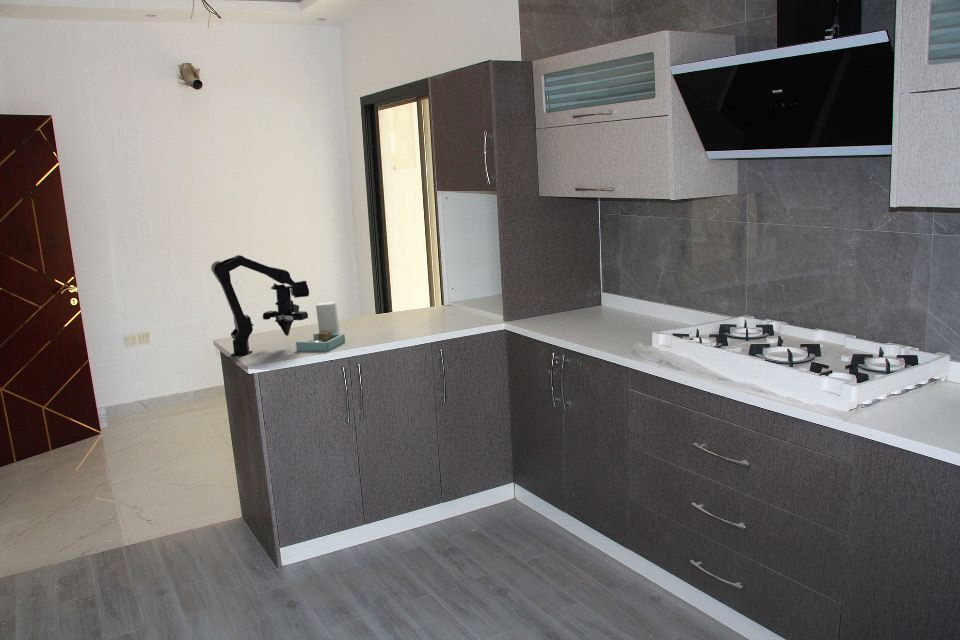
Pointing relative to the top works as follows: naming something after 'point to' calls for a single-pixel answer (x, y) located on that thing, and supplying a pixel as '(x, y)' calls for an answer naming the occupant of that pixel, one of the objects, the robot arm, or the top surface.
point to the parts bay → (321, 343)
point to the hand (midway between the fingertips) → (287, 335)
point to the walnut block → (324, 336)
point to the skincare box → (327, 317)
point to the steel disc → (315, 341)
